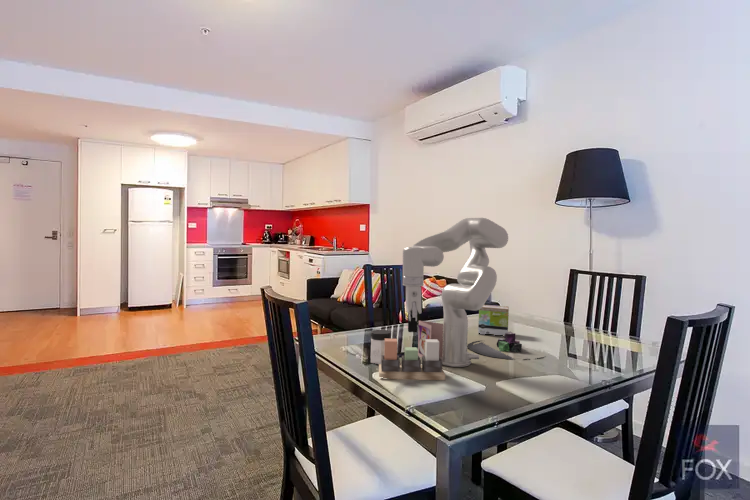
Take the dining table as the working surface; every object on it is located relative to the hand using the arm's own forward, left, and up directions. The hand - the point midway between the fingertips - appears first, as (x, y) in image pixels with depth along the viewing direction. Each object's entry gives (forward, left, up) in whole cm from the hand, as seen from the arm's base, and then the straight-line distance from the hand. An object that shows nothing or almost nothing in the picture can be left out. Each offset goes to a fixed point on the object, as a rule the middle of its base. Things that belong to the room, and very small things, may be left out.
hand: (412, 331), depth 155 cm
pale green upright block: (0, 0, -13) cm, 13 cm away
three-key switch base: (0, 0, -16) cm, 16 cm away
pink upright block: (+8, 0, -10) cm, 13 cm away
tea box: (-50, -71, -16) cm, 88 cm away
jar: (+11, -16, -16) cm, 25 cm away
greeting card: (-10, -22, -16) cm, 29 cm away
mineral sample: (-47, -39, -17) cm, 63 cm away
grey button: (-7, 0, -10) cm, 12 cm away
